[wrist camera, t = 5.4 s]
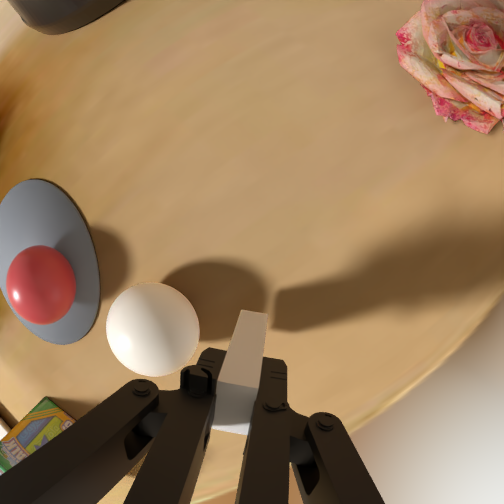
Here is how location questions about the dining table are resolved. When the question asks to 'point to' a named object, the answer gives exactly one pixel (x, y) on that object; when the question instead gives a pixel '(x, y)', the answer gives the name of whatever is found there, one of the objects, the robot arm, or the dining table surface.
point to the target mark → (55, 236)
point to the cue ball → (152, 329)
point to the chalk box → (32, 433)
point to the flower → (458, 58)
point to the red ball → (41, 285)
